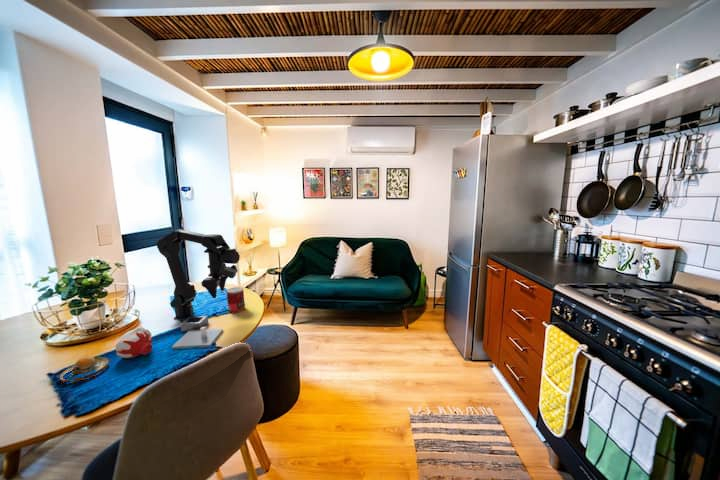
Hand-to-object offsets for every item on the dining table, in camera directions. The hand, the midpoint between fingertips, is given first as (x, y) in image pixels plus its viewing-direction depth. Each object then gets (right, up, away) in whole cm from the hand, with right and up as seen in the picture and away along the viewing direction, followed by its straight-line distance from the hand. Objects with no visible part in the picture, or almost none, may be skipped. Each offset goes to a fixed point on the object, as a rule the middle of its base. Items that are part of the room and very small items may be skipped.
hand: (218, 294), depth 121 cm
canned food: (+2, -11, +13) cm, 17 cm away
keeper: (0, -16, -15) cm, 22 cm away
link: (-8, -14, -5) cm, 17 cm away
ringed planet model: (-26, -20, -34) cm, 47 cm away
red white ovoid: (-17, -18, -25) cm, 35 cm away
